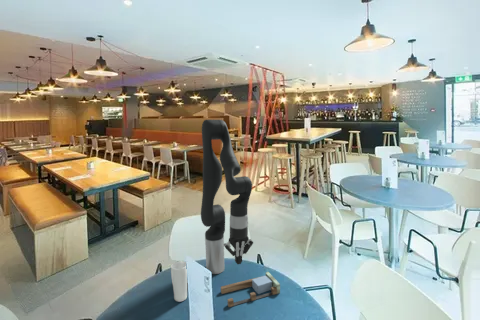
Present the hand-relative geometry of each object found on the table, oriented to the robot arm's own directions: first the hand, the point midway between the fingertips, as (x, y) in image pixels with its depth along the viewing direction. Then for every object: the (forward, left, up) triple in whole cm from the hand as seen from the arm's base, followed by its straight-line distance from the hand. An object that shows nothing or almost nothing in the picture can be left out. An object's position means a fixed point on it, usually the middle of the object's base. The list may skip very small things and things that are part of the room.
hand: (238, 263), depth 112 cm
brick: (0, +11, -15) cm, 19 cm away
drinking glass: (-8, -24, -15) cm, 29 cm away
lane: (0, +4, -15) cm, 15 cm away
